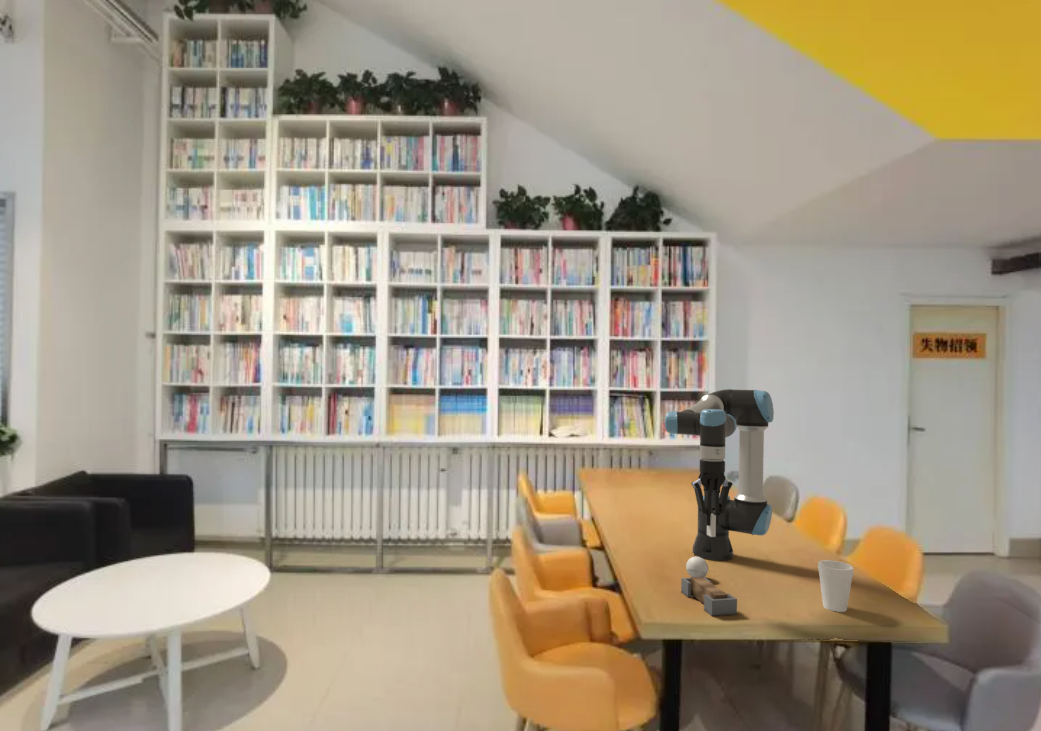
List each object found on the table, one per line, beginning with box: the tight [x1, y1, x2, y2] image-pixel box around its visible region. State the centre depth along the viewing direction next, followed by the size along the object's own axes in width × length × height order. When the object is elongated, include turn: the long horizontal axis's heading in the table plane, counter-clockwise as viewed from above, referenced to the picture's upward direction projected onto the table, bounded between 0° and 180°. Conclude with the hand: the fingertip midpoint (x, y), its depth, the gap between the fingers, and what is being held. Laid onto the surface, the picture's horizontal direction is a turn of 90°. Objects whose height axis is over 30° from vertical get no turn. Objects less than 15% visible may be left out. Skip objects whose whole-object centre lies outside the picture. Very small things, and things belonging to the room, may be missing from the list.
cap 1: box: [680, 576, 712, 598], centre depth 190 cm, size 4×8×4 cm, turn 102°
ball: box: [685, 556, 715, 578], centre depth 203 cm, size 10×7×7 cm
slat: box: [690, 576, 728, 604], centre depth 182 cm, size 15×4×5 cm, turn 11°
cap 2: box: [703, 593, 738, 617], centre depth 175 cm, size 4×8×4 cm, turn 102°
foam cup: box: [817, 559, 854, 613], centre depth 181 cm, size 10×9×13 cm
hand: (711, 535), depth 184 cm, fingers closed
